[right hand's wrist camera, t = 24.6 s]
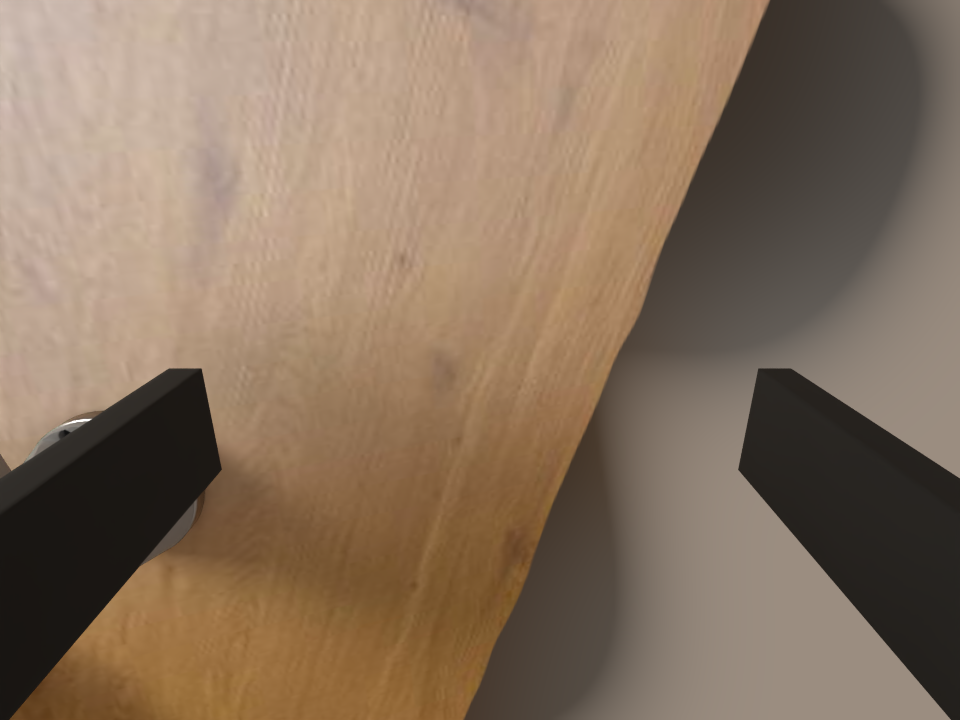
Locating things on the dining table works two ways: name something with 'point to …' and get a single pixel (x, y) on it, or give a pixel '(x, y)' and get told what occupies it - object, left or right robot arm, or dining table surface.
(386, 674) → the dining table surface
